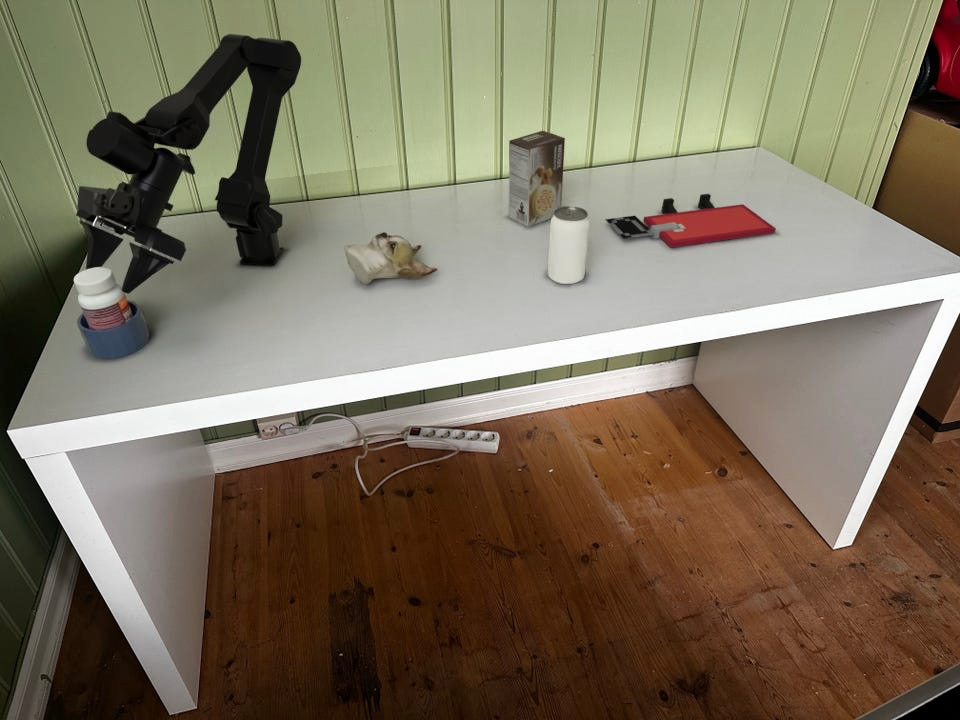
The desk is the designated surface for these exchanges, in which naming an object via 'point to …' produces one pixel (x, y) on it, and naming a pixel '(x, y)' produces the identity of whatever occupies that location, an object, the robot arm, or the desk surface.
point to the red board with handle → (694, 224)
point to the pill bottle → (102, 299)
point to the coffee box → (535, 177)
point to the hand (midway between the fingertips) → (106, 283)
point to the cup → (116, 336)
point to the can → (568, 245)
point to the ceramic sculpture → (385, 259)
